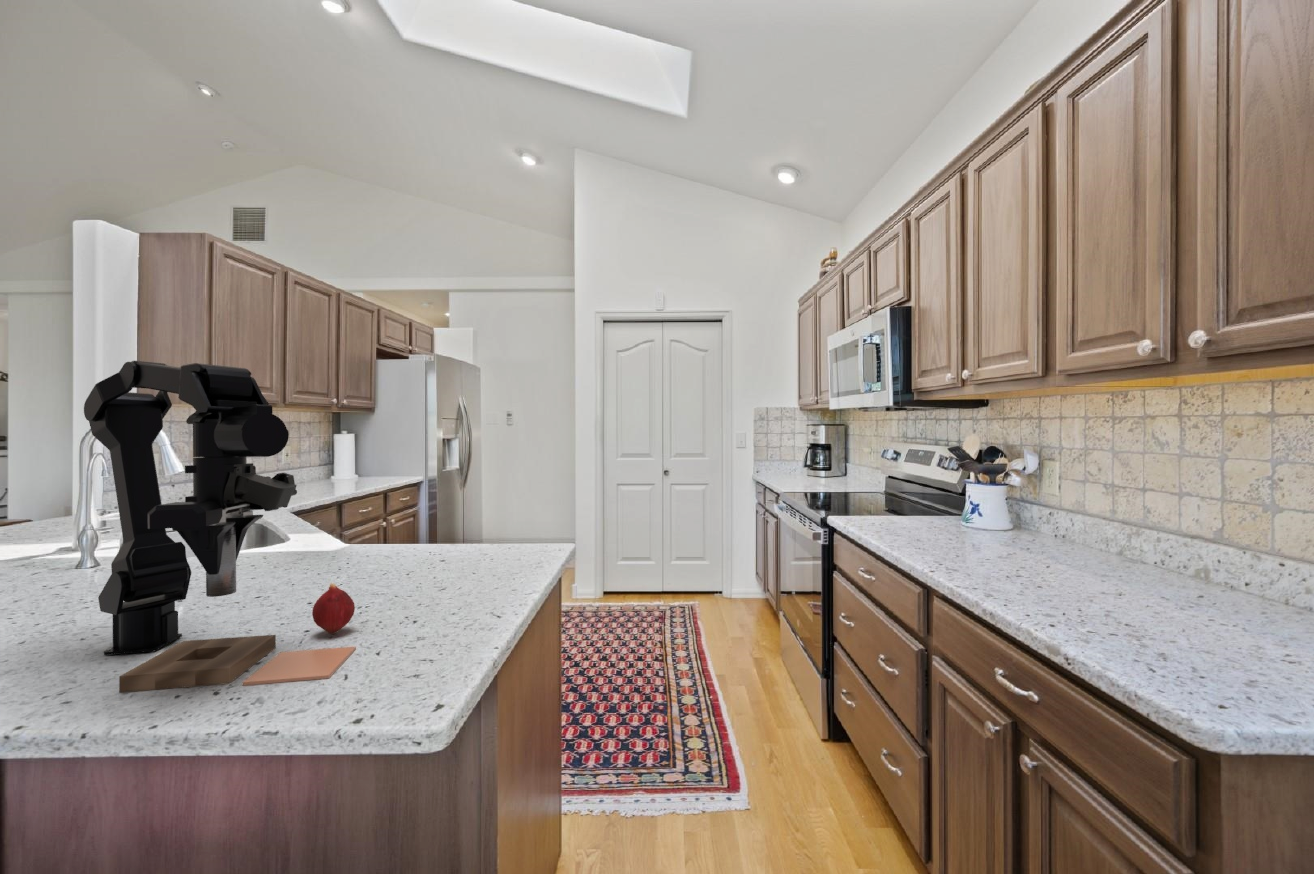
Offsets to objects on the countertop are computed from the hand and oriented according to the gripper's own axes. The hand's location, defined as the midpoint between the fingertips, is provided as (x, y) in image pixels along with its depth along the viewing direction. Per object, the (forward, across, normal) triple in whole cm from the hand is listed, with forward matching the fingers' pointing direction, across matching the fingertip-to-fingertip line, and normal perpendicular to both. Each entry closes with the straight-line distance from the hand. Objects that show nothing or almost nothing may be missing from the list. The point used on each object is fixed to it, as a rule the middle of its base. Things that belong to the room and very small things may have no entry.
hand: (221, 571), depth 74 cm
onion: (+14, +12, -10) cm, 20 cm away
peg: (+3, 0, 0) cm, 3 cm away
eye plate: (+13, 0, +2) cm, 13 cm away
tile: (+13, -1, -11) cm, 17 cm away
